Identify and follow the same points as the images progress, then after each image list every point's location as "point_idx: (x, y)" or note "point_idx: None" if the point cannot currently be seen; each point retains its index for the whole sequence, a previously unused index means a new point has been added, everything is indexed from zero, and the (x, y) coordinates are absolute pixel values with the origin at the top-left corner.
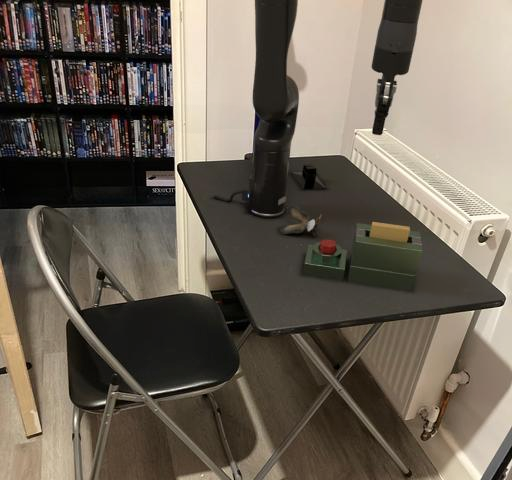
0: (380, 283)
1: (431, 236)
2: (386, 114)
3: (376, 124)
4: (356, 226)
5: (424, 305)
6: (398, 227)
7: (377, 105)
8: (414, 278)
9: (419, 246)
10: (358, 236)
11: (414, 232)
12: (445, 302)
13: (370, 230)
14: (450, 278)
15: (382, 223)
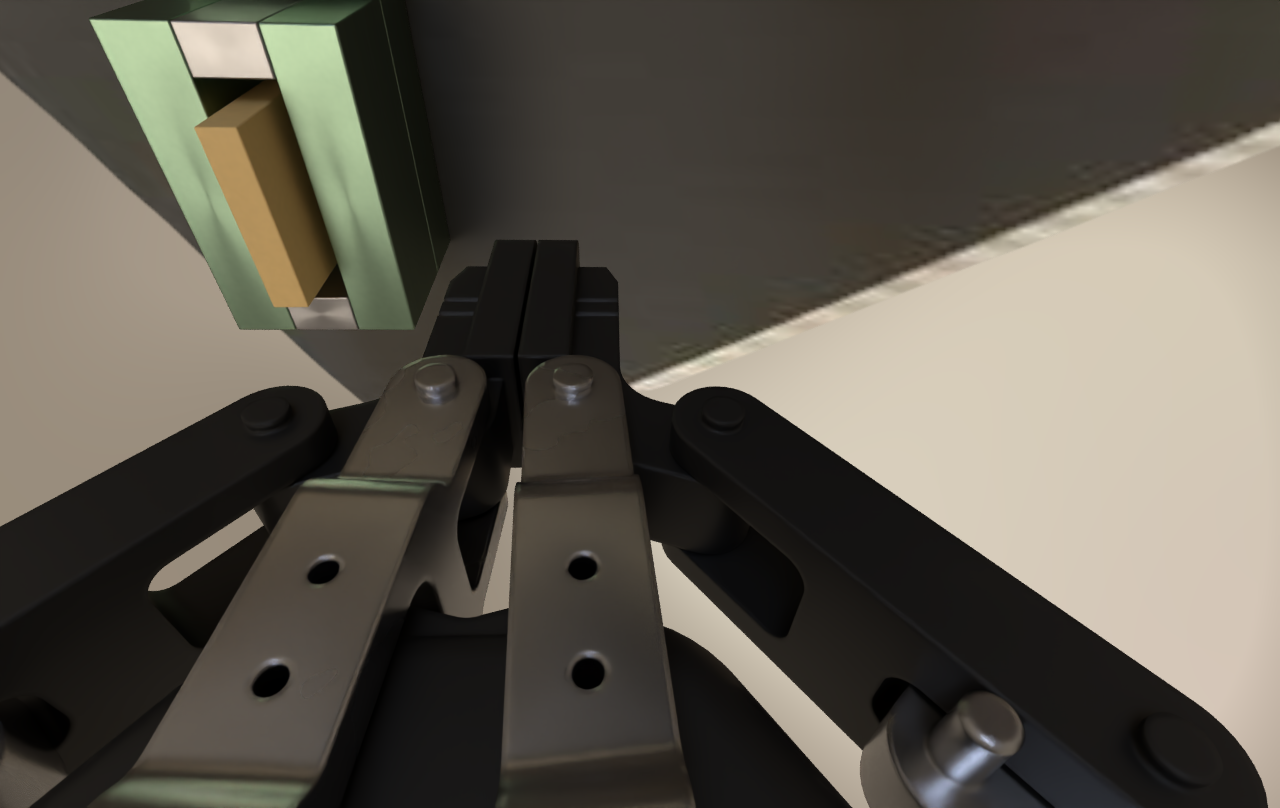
0: None
1: (738, 323)
2: (260, 542)
3: (437, 331)
4: (297, 22)
5: None
6: (263, 260)
7: (112, 539)
8: None
9: (271, 321)
10: (161, 36)
11: (394, 309)
12: (308, 332)
13: (251, 110)
14: None
15: (251, 184)
